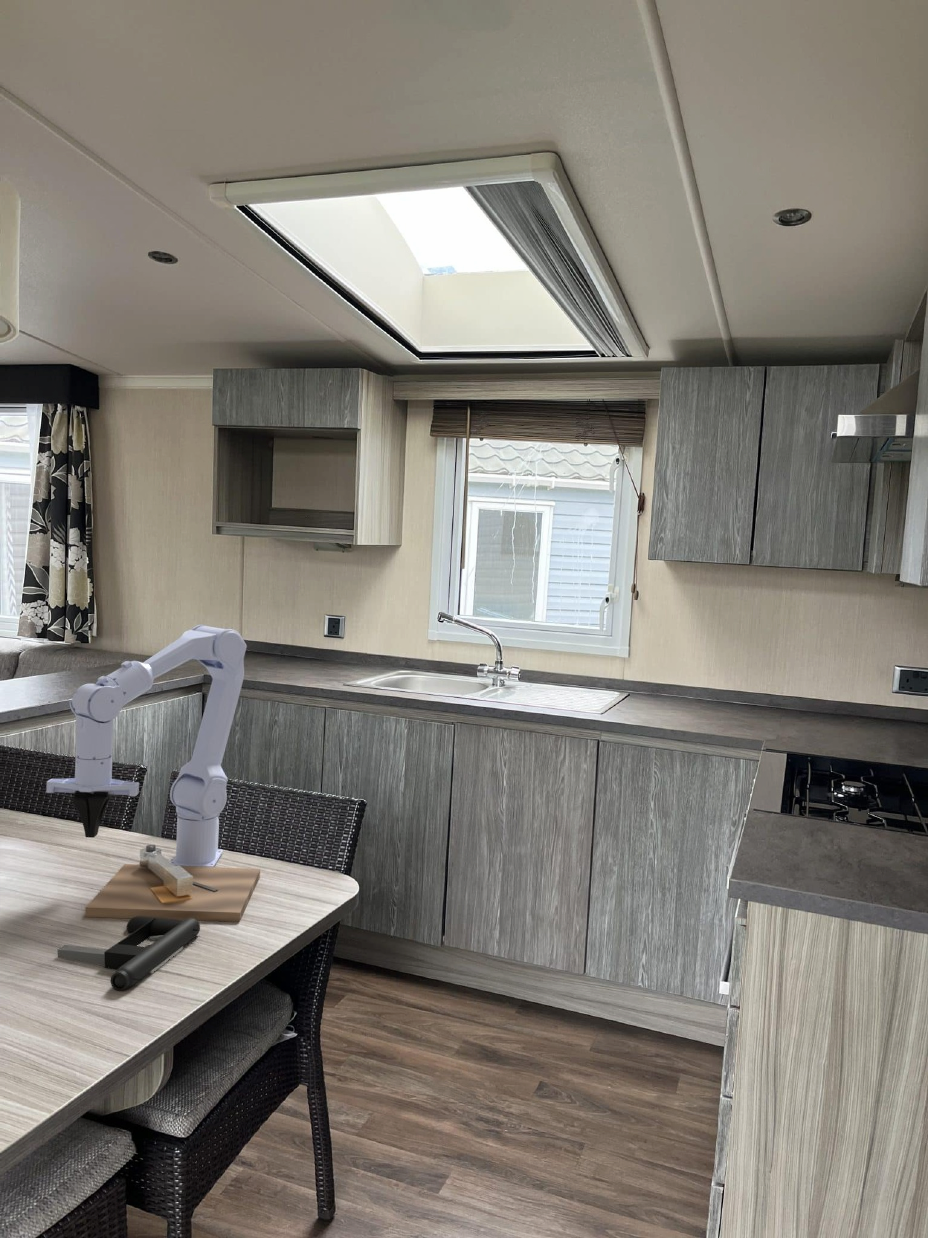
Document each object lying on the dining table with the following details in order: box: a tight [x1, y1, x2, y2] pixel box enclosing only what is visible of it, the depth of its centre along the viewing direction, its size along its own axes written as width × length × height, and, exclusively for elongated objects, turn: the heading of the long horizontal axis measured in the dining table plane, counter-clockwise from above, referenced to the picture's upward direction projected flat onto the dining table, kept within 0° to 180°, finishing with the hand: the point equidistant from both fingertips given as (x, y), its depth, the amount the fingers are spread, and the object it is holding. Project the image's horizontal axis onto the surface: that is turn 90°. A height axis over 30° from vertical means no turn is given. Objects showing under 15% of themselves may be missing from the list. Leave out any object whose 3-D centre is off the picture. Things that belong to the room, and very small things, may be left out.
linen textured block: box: [138, 844, 193, 897], centre depth 156 cm, size 18×4×4 cm, turn 38°
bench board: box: [84, 863, 261, 923], centre depth 154 cm, size 20×24×2 cm
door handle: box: [57, 916, 201, 992], centre depth 132 cm, size 3×20×16 cm
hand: (91, 835), depth 154 cm, fingers closed
